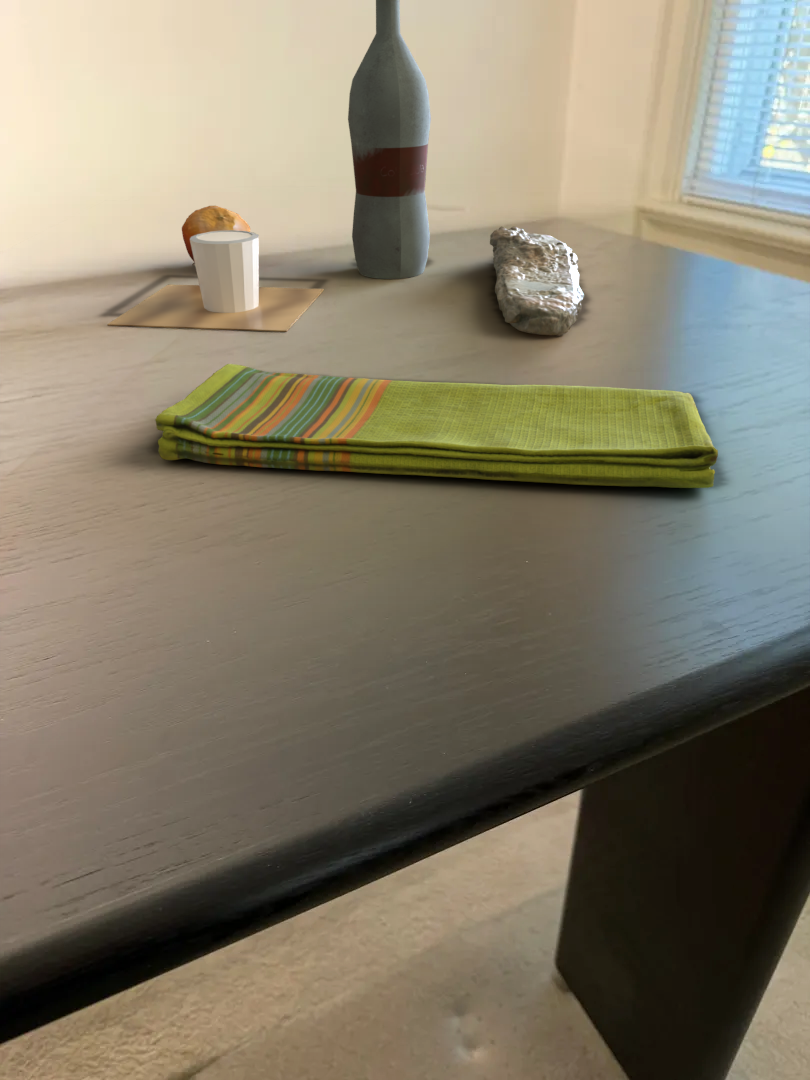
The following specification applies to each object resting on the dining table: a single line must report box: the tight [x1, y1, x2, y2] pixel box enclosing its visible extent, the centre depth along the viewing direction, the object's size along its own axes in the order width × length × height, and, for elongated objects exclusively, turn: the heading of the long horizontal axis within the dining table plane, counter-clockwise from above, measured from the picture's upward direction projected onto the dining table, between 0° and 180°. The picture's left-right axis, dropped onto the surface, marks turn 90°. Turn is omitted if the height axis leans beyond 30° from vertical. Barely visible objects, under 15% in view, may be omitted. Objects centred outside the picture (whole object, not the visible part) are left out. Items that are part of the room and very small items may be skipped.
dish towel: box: [154, 363, 719, 489], centre depth 62 cm, size 15×36×3 cm, turn 81°
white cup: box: [190, 230, 260, 313], centre depth 90 cm, size 7×7×7 cm
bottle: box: [347, 0, 432, 280], centre depth 98 cm, size 9×9×30 cm
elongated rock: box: [489, 226, 585, 337], centre depth 96 cm, size 35×5×10 cm
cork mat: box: [106, 283, 325, 333], centre depth 92 cm, size 18×16×1 cm
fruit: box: [181, 205, 251, 266], centre depth 107 cm, size 8×8×8 cm
